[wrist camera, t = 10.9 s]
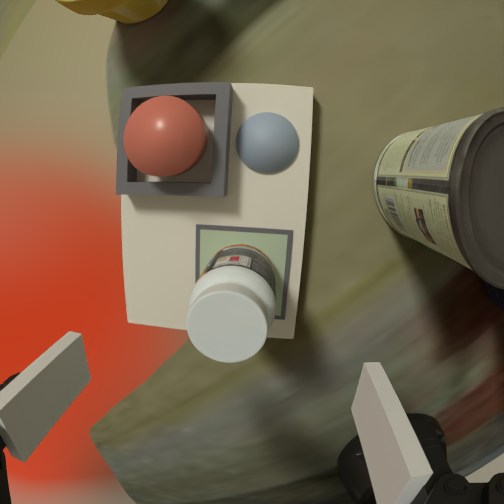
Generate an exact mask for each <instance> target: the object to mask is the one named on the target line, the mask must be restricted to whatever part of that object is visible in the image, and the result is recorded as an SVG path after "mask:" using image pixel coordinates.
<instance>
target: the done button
mask: <svg viewBox="0 0 504 504" xmlns="http://www.w3.org/2000/svg"><path fill="white" fill-rule="evenodd" d="M123 143H124V149H125V153H126V155H127V157H128V159H129V161H130V162H131V163H132V165H133V166H134V167H135V168H136V169H138V170H139V171H141V172H142V173H144V174H147V175H150V176H158V177H160V176H175V175H180V174H183V173H185V172H187V171H189V170H190V169H192V168H193V167H194V166H195V165H196V164H197V163H198V162H199V161H200V159H201V158H202V156H203V155H204V153H205V150H206V147H207V143H208V129H207V126H206V123H205V121H204V119H203V117H202V116H201V114H200V113H199V112H198V111H197V110H196V109H194V108H193V107H192V106H191V105H189V104H188V103H187V102H185V101H184V100H182V99H180V98H177V97H174V96H158V97H154V98H151V99H149V100H147V101H145V102H144V103H142V104H141V105H140V106H138V107H137V108H136V109H135V111H134V112H133V113H132V114H131V116H130V117H129V119H128V121H127V124H126V126H125V130H124V137H123Z"/></svg>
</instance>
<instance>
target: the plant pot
mask: <svg viewBox="0 0 504 504" xmlns="http://www.w3.org/2000/svg"><path fill="white" fill-rule="evenodd" d="M56 1H57V2H59V3H60V4H62V5H63V6H65V7H67V8H68V9H70V10H72V11H74V12H76V13H78V14H83V15H96V14H99V15H102V16H105V17H109V18H111V19H114V20H117V21H119V22H122V23H137V22H141V21H144V20H146V19H148V18H150V17H152V16H154V15H155V14H156V13H158V12H159V11H160V10H161V9H162V8H163V7H164V6H165V5H166V3H167V2H168V0H56Z"/></svg>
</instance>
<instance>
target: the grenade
mask: <svg viewBox="0 0 504 504" xmlns="http://www.w3.org/2000/svg"><path fill="white" fill-rule="evenodd" d="M483 283H484V284H485V286H486V289H487V292H488V294H489V297H490V298H491V299H492V301H493V302H494V303H495V304H497V305H498V306H499V307H501V308H502V309H504V289H500V288H497V287H494V286H492V285H490V284H489V283H487V282H485V281H484V280H483Z"/></svg>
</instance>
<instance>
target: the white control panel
mask: <svg viewBox="0 0 504 504" xmlns="http://www.w3.org/2000/svg"><path fill="white" fill-rule="evenodd" d="M158 96H174V97H177V98H180V99H182V100H184V101H185V102H187V103H188V104H189V105H191V106H192V107H193V108H194V109H196V110H197V111H198V112H199V113H200V114H201V116H202V117H203V119H204V121H205V123H206V126H207V129H208V143H207V147H206V150H205V153H204V155H203V156H202V158H201V159H200V161H199V162H198V163H197V164H196V165H195V166H194V167H193V168H192V169H190V170H189V171H187V172H185V173H183V174H180V175H175V176H160V177H158V176H150V175H147V174H144V173H142V172H141V171H139V170H138V169H136V168H135V167H134V166H133V165H132V163H131V162H130V161H129V159H128V157H127V155H126V153H125V149H124V143H123V137H124V130H125V126H126V124H127V121H128V119H129V117H130V116H131V114H132V113H133V112H134V111H135V109H136V108H137V107H138V106H140V105H141V104H142V103H144V102H145V101H147V100H149V99H151V98H154V97H158ZM312 112H313V88H312V87H302V86H290V85H275V84H253V83H230V82H196V83H174V84H159V85H147V86H137V87H128V88H122V96H121V106H120V118H119V131H118V148H117V176H116V179H117V180H116V194H117V195H119V194H120V195H121V198H122V199H121V202H122V203H121V217H122V250H123V271H124V285H125V297H126V307H127V318H128V322H129V323H136V324H143V325H149V326H157V327H164V328H173V329H181V330H187V326H186V322H187V315H188V312H189V299H190V295H191V291H192V289H193V287H194V285H195V284H196V282H197V280H198V279H199V277H200V276H201V274H202V273H203V271H204V269H205V268H206V266H207V264H208V263H209V262H210V260H211V259H212V257H213V256H214V255H215V254H216V253H217V252H218V251H219V250H220V249H222V248H223V247H226V246H228V245H231V244H236V243H244V244H250V245H252V246H255V247H257V248H258V249H260V250H262V251H263V252H264V253H265V254H266V255H267V256H268V258H269V259H270V261H271V263H272V265H273V268H274V273H275V282H276V284H275V289H276V313H275V318H274V321H273V323H272V325H271V327H270V328H269V330H268V334H267V338H283V339H293V338H294V330H295V322H296V314H297V305H298V296H299V287H300V277H301V268H302V257H303V247H304V236H305V224H306V212H307V199H308V185H309V169H310V153H311V134H312Z"/></svg>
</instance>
